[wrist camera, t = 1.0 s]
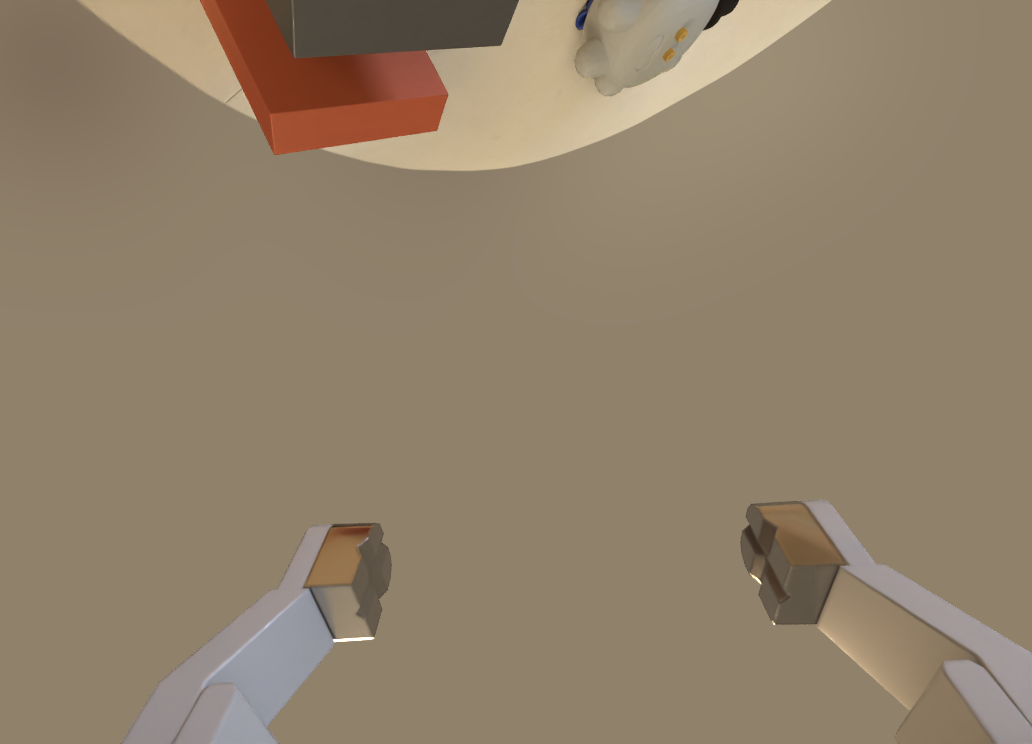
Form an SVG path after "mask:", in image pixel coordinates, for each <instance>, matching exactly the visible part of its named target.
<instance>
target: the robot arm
mask: <svg viewBox="0 0 1032 744" xmlns="http://www.w3.org/2000/svg"><path fill="white" fill-rule="evenodd" d="M746 518H747V520H748V522H749V524H750V525H749V526H747V527H746V528H745V529H744V530H743V531H742V536H741V552H742V556H743V560H744V564H745V566H746V568H747V571H748V573H749V575H750V576H751V577H752V578H754V579H755V580H757V581H758V582H759V583H760V584H761V587H760V591H759V597H760V599H761V601H762V603H763V605H764V607H765V609H766V611H767V613H768V615H769V617H770V620H771V622H772V624H773V625H774V624H817V625H816V627H817V628H818V629H820V630H821V631H822V632H823V633H824V634H825V635H826V636H827V637H829V639H831V640H832V641H833V642H834V643H835V644H836V645H837V646H838V647H840V648H841V649H842V650H843V651H844V652H845V653H846V654H847V655H848V656H849V657H851V658H852V659H853V660H854V661H855V662H856V663H857V664H858V665H859V666H861V667H862V668H863V669H864V670H865V671H866V672H867V673H868V674H869V675H871V676H872V677H873V678H874V679H875V680H876V681H877V682H878V683H879V684H881V685H882V686H883V687H884V688H885V689H886V690H887V691H888V692H889V693H890V694H892V695H893V696H894V697H895V698H896V699H897V700H898V701H899V702H900V703H901V704H903V705H904V706H905V707H906V708H907V709H908V710H909V711H910V712H909V714H908V715H907V717H906V718H905V720H904V721H903V723H902V724H901V726H900V727H899V729H898V731H897V733H896V735H895V739H896V740H897V742H898V744H1032V653H1030V652H1028V651H1027V650H1025V649H1023V648H1021V647H1020V646H1019V645H1017V644H1015V643H1013V642H1012V641H1010V640H1009V639H1007V638H1005V637H1003V636H1002V635H1000V634H999V633H997V632H995V631H994V630H992V629H990V628H989V627H987V626H985V625H984V624H982V623H981V622H979V621H977V620H975V619H974V618H972V617H971V616H969V615H967V614H966V613H964V612H962V611H961V610H959V609H957V608H956V607H954V606H952V605H951V604H949V603H947V602H946V601H944V600H942V599H941V598H939V597H938V596H936V595H934V594H933V593H931V592H929V591H928V590H926V589H924V588H923V587H921V586H919V585H918V584H916V583H914V582H913V581H911V580H909V579H908V578H906V577H905V576H903V575H901V574H899V573H898V572H896V571H895V570H893V569H891V568H890V567H888V566H886V565H885V564H876V563H875V562H874V561H873V559H872V558H871V557H870V555H869V554H868V553H867V551H866V550H865V549H864V547H863V546H862V545H861V544H860V542H859V541H858V539H857V538H856V537H855V536H854V534H853V533H852V532H851V530H850V529H849V528H848V526H847V525H846V524H845V522H844V521H843V520H842V518H841V517H840V516H839V515H838V513H837V512H836V510H835V509H834V508H833V506H832V505H831V504H830V503H829V502H827V501H826V500H811V501H799V502H798V501H791V502H775V503H774V502H773V503H757V504H751V505H750V506H749V507H748V509H747V513H746ZM383 534H384V533H383V531H382V529H381V526H380V524H378V523H361V524H360V523H359V524H329V525H312V526H311V527H310V528H309V529H308V530H307V531H306V532H305V534H304V536H303V538H302V540H301V542H300V544H299V546H298V548H297V550H296V552H295V554H294V556H293V558H292V560H291V562H290V564H289V566H288V568H287V570H286V572H285V574H284V576H283V578H282V580H281V582H280V584H279V586H278V588H277V589H276V590H269V591H268V592H267V593H266V594H265V595H264V596H262V597H261V598H260V599H259V600H257V601H256V602H255V603H254V604H253V605H251V606H250V607H249V608H248V609H247V610H245V611H244V612H243V613H242V614H241V615H239V616H238V617H237V618H236V619H235V620H233V621H232V622H231V623H230V624H228V625H227V626H226V627H225V628H224V629H222V630H221V631H220V632H219V633H218V634H217V635H215V636H214V637H213V638H212V639H210V640H209V641H208V642H207V643H206V644H204V645H203V646H202V647H201V648H200V649H199V650H197V651H196V652H195V653H194V654H192V655H191V656H190V657H189V658H187V659H186V660H185V661H184V662H183V663H181V664H180V665H179V666H178V667H177V668H175V670H173V671H172V672H171V673H169V674H168V675H167V676H166V677H165V678H164V679H162V680H161V681H160V682H159V683H158V685H157V686H156V688H155V689H154V691H153V693H152V694H151V696H150V697H149V699H148V701H147V702H146V704H145V705H144V707H143V709H142V710H141V712H140V713H139V715H138V717H137V718H136V720H135V722H134V723H133V725H132V726H131V728H130V729H129V731H128V733H127V734H126V736H125V737H124V739H123V741H122V742H121V744H279V742H278V741H277V740H276V738H275V737H274V736H273V734H272V733H271V732H270V730H269V729H268V728H267V726H268V725H269V723H270V722H271V721H272V720H273V718H274V717H275V716H276V715H277V714H278V712H279V711H280V710H281V709H282V708H283V706H284V705H285V704H286V703H287V702H288V700H289V699H290V698H291V697H292V695H293V694H294V693H295V692H296V691H297V689H298V688H299V687H300V686H301V684H302V683H303V682H304V681H305V680H306V679H307V677H308V676H309V675H310V674H311V672H312V671H313V670H314V669H315V668H316V666H317V665H318V664H319V663H320V662H321V660H322V659H323V658H324V657H325V656H326V654H327V653H328V652H329V651H330V650H331V648H332V647H333V646H334V645H335V641H346V640H361V639H374V637H375V633H376V630H377V626H378V622H379V619H380V615H381V612H382V607H381V604H380V602H379V598H380V597H381V596H382V595H383V594H384V593H385V592H386V591H387V590H388V586H389V582H390V577H391V566H392V564H391V555H390V552H389V549H388V547H387V546H386V545H384V544H383V543H381V541H382V537H383Z"/></svg>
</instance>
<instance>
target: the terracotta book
mask: <svg viewBox="0 0 1032 744" xmlns="http://www.w3.org/2000/svg"><path fill="white" fill-rule="evenodd" d="M200 2H201V4H202V6H203V8H204V10H205V12H206V14H207V16H208V18H209V20H210V22H211V24H212V26H213V29H214V31H215V33H216V35H217V37H218V39H219V41H220V43H221V45H222V47H223V49H224V51H225V53H226V56H227V58H228V60H229V62H230V64H231V66H232V68H233V70H234V72H235V74H236V76H237V78H238V80H239V83H240V85H241V87H242V89H243V91H244V93H245V95H246V97H247V99H248V101H249V103H250V105H251V107H252V110H253V112H254V114H255V116H256V118H257V120H258V122H259V124H260V126H261V128H262V130H263V132H264V134H265V136H266V139H267V141H268V142H269V145H270V147H271V149H272V151H273V153H274V154H275V155H279V154H286V153H292V152H299V151H305V150H312V149H319V148H325V147H332V146H339V145H345V144H352V143H358V142H365V141H372V140H378V139H385V138H392V137H398V136H405V135H411V134H418V133H425V132H431V131H437V129H438V125H439V122H440V119H441V116H442V113H443V110H444V107H445V103H446V100H447V97H448V92H447V90H446V88H445V86H444V84H443V83H442V81H441V79H440V77H439V75H438V73H437V71H436V69H435V67H434V65H433V63H432V62H431V60H430V58H429V56H428V54H427V52H426V50H422V51H406V52H390V53H374V54H358V55H342V56H326V57H310V58H294V57H293V55H292V53H291V51H290V49H289V47H288V45H287V43H286V41H285V39H284V37H283V35H282V33H281V31H280V29H279V27H278V25H277V23H276V21H275V19H274V17H273V15H272V13H271V11H270V9H269V7H268V5H267V3H266V1H265V0H200Z"/></svg>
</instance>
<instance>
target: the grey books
mask: <svg viewBox="0 0 1032 744" xmlns="http://www.w3.org/2000/svg"><path fill="white" fill-rule="evenodd" d="M265 1H266V3H267V5H268V7H269V9H270V11H271V13H272V15H273V17H274V19H275V21H276V23H277V25H278V27H279V29H280V31H281V33H282V35H283V37H284V39H285V41H286V43H287V45H288V47H289V49H290V51H291V53H292V55H293V57H294V58H310V57H326V56H342V55H358V54H374V53H390V52H406V51H422V50H438V49H454V48H471V47H487V46H500V45H501V44H502V42H503V39H504V37H505V34H506V32H507V29H508V27H509V24H510V22H511V19H512V17H513V14H514V12H515V9H516V6H517V4H518V1H519V0H265Z"/></svg>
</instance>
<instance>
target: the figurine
mask: <svg viewBox="0 0 1032 744" xmlns="http://www.w3.org/2000/svg"><path fill="white" fill-rule="evenodd" d="M738 2H739V0H590V1H589V3H588V6H587V10H586V11H584V12H582V13H581V14H580V15H579V16H578V17H577V19H576V27H577V28H578V29H583V45H582V46H581V47H580V48H579V50H578V51H577V53H576V56H575V67H576V70H577V71H578V73H579V74H580V75H581V76H582V77H584V78H595V85H596V87H597V89H598V91H599V92H600V93H601V94H602V95H604V96H613V95H616V94H617V93H619V92H620V91H621V90H622V89H623V88H630V87H634V86H637V85H640V84H642V83H644V82H647V81H648V80H650V79H652V78H654V77H656V76H657V75H659V74H661V73H662V72H666V71H668V70H670V69H672V68H673V67H675V65H676V64H677V63H678V62H679V61H680V59H681V57H682V55H683V54H684V53H685V52H686V51H687V50H688V49H689V47H690V46H691V45H692V44H693V43H694V41H695V40H696V39H697V38H698V36H699V35H700V33H701V32H702V31H703V30H706V29H709V28H711V27H713V26H714V25H715V24H716V23H717V22H718V21H719V19H720V18H721V17H722V16H725V15H727V14H729V13H730V12H732V11H733V10H734V8H735V7H736V5H737V4H738Z"/></svg>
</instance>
